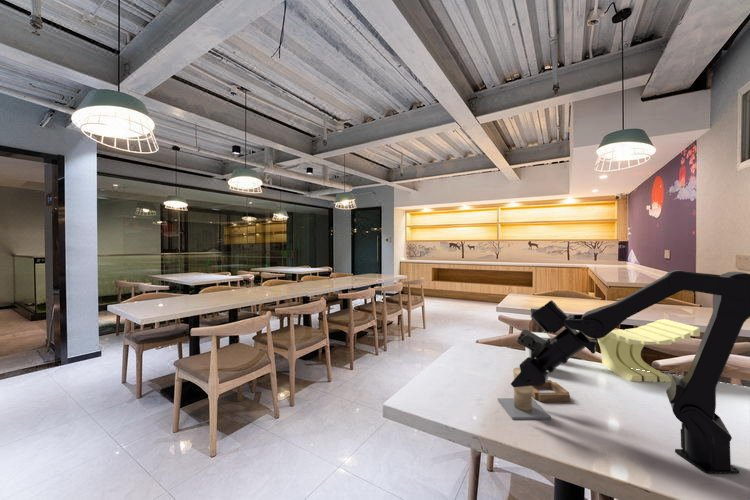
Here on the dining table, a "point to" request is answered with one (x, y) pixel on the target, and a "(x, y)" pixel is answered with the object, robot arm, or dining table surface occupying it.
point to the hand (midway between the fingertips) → (516, 379)
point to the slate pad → (514, 413)
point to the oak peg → (522, 395)
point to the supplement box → (541, 335)
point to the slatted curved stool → (627, 344)
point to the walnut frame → (551, 393)
